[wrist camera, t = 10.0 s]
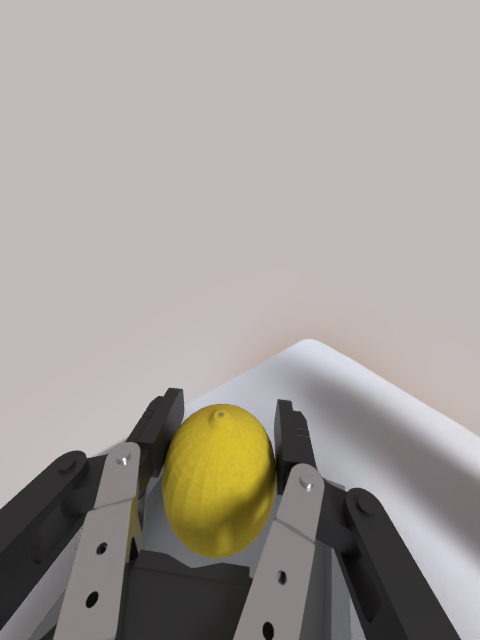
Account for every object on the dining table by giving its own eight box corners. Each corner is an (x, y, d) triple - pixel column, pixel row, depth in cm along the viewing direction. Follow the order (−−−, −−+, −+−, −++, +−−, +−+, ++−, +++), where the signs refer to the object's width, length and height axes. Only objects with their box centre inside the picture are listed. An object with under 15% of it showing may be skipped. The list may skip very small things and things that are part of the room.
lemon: (194, 462, 16) (190, 366, 13) (273, 485, 15) (289, 386, 12) (146, 568, 11) (121, 455, 8) (259, 614, 10) (281, 504, 7)
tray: (335, 509, 21) (344, 486, 20) (340, 1054, 7) (370, 1109, 6) (187, 448, 26) (185, 426, 25) (21, 702, 12) (-5, 684, 11)
